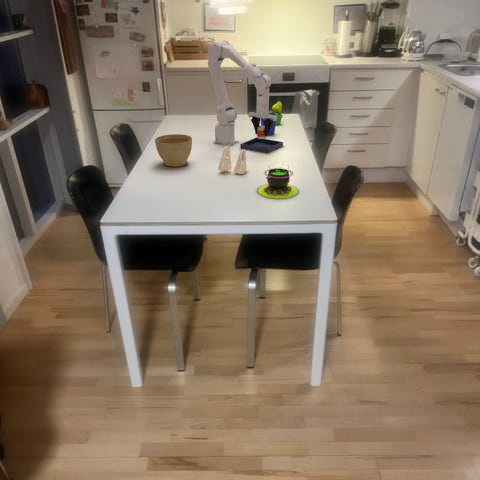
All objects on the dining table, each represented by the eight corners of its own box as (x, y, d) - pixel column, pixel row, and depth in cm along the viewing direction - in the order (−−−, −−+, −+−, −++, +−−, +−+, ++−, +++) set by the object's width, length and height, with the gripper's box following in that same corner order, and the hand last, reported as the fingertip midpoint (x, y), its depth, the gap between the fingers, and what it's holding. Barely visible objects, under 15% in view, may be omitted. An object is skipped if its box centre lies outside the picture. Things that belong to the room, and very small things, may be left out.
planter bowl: (198, 159, 216) (197, 135, 209) (185, 171, 203) (184, 145, 197) (165, 157, 219) (163, 132, 213) (151, 168, 206) (148, 142, 200)
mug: (276, 130, 256) (277, 111, 250) (275, 136, 246) (276, 116, 241) (261, 130, 257) (261, 110, 251) (259, 136, 247) (260, 116, 241)
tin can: (255, 138, 227) (255, 127, 224) (260, 135, 230) (260, 125, 227) (263, 139, 225) (263, 128, 222) (268, 137, 228) (268, 126, 225)
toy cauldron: (273, 181, 192) (274, 154, 185) (304, 190, 184) (307, 161, 177) (250, 192, 182) (250, 163, 176) (282, 201, 175) (283, 171, 168)
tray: (240, 148, 229) (240, 144, 228) (256, 142, 239) (256, 137, 237) (267, 154, 222) (267, 149, 221) (282, 146, 232) (283, 141, 230)
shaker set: (217, 173, 200) (216, 146, 193) (219, 170, 203) (218, 144, 197) (245, 175, 198) (245, 148, 192) (246, 171, 202) (247, 145, 195)
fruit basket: (263, 121, 273) (263, 100, 267) (277, 120, 275) (278, 99, 269) (270, 126, 264) (270, 104, 258) (284, 125, 266) (285, 103, 260)
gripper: (280, 104, 218) (279, 135, 226) (254, 100, 225) (253, 130, 233) (272, 107, 214) (271, 138, 222) (245, 103, 220) (245, 133, 228)
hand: (261, 134), depth 227 cm, fingers closed on tin can, 5 cm apart
